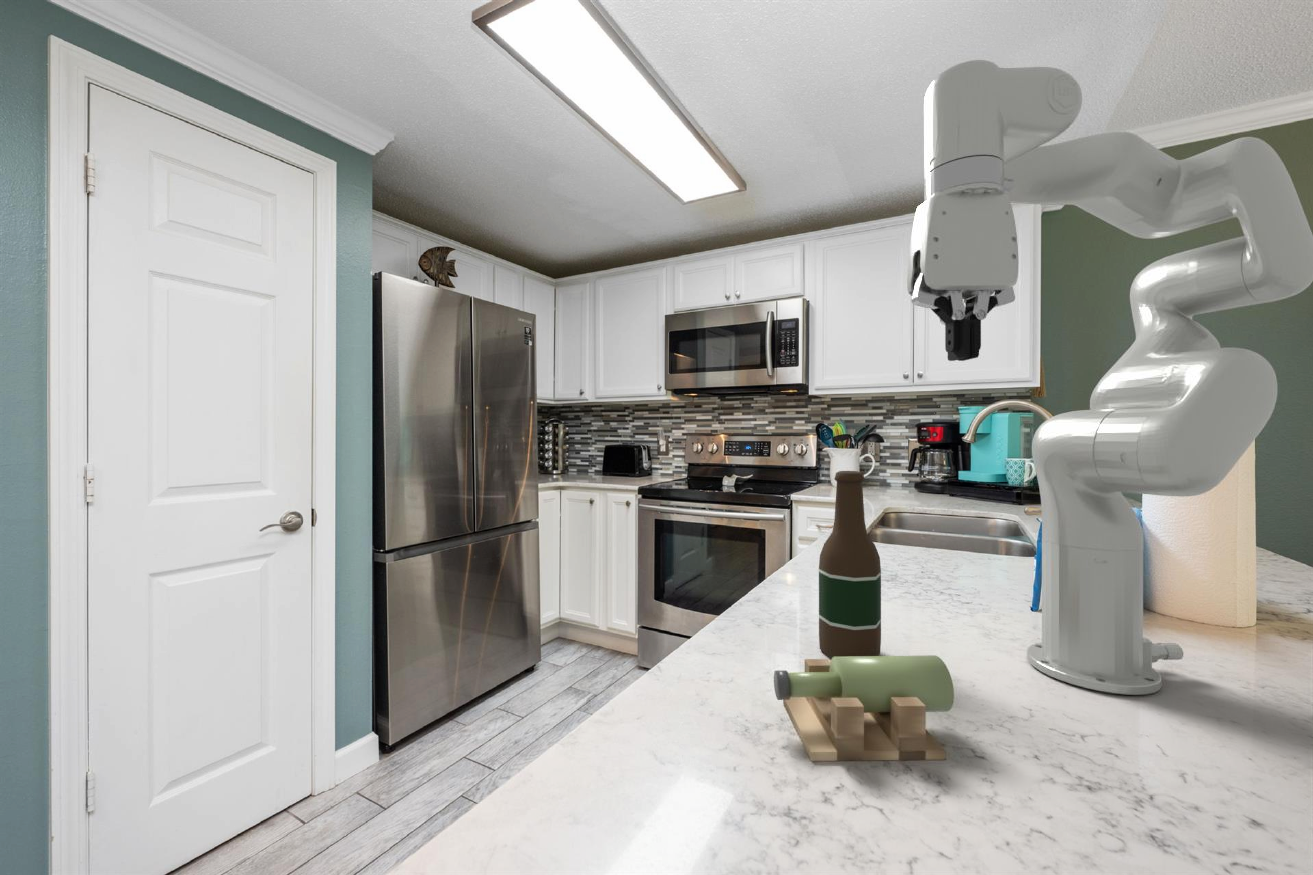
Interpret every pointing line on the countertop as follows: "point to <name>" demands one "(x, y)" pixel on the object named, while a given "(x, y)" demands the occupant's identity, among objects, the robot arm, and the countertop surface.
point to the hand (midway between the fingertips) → (962, 358)
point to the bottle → (874, 681)
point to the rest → (861, 727)
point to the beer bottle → (849, 578)
